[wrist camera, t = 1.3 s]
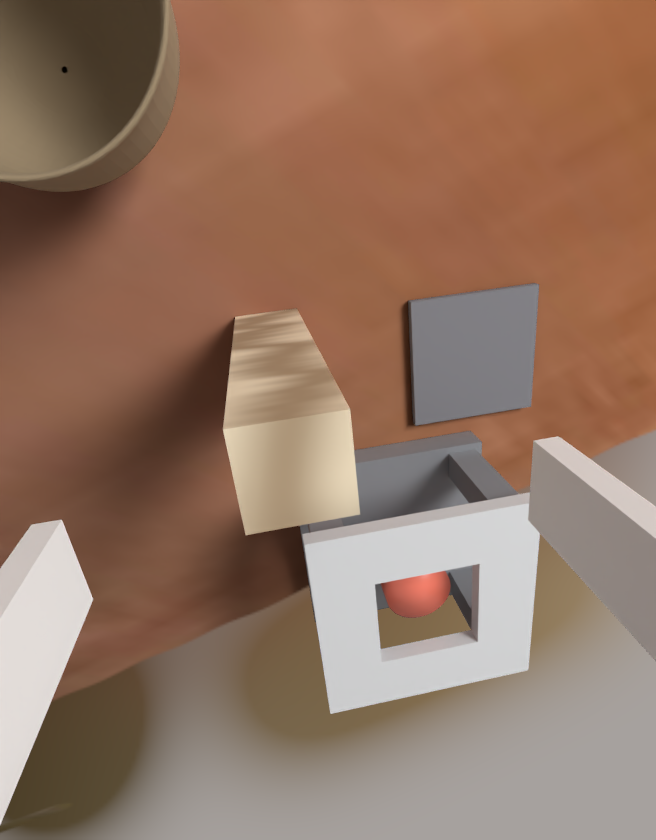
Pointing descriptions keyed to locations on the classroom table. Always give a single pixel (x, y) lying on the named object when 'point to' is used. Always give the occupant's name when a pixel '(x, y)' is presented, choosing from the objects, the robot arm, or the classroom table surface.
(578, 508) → the robot arm
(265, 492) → the light wooden bar
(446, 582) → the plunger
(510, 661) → the grey open box frame
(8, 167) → the bowl
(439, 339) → the pad
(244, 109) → the classroom table surface
